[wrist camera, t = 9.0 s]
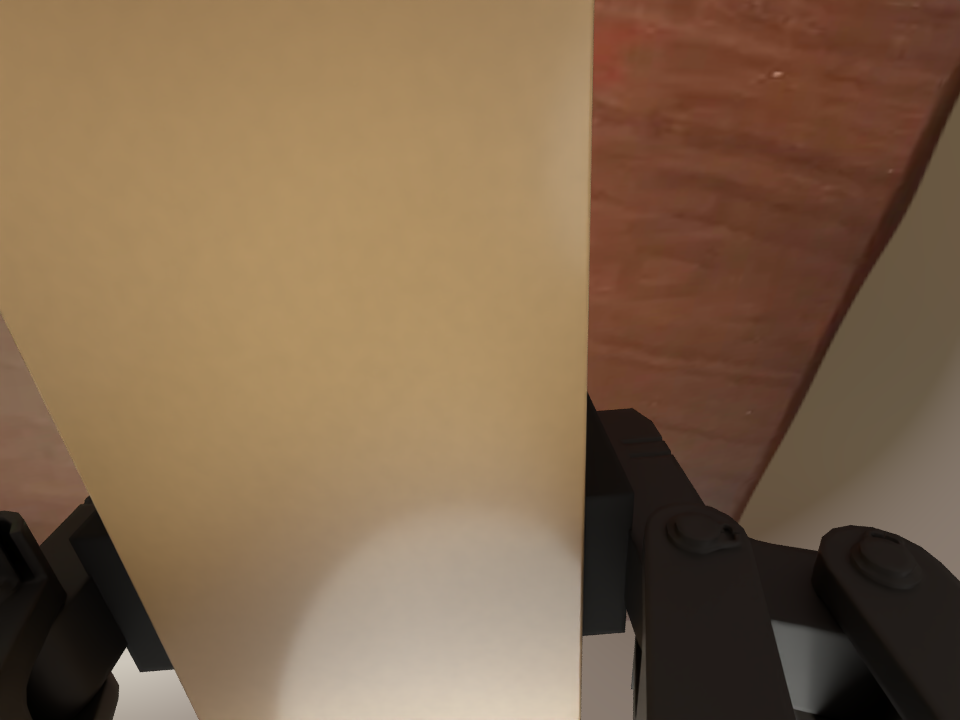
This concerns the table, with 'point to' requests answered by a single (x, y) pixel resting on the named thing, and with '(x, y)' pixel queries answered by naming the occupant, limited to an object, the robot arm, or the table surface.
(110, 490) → the beech block
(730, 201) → the table surface
